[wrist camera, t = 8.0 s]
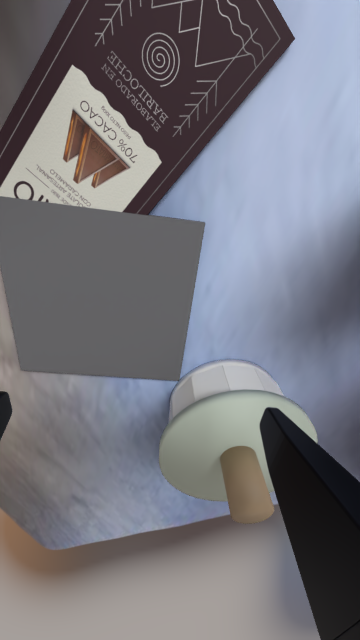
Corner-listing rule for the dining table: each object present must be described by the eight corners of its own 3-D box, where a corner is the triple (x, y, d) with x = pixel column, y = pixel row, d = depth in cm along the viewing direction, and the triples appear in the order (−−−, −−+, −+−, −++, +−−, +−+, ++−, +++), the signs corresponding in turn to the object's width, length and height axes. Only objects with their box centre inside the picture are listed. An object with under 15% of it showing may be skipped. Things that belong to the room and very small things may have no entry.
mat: (204, 222, 18) (205, 223, 18) (178, 376, 25) (179, 380, 24) (-9, 194, 17) (-14, 194, 16) (24, 365, 23) (21, 370, 23)
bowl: (291, 363, 25) (319, 403, 20) (260, 440, 30) (276, 485, 25) (176, 354, 23) (179, 394, 19) (164, 436, 28) (164, 482, 24)
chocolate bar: (295, 38, 14) (93, 278, 19) (287, 47, 14) (96, 274, 20) (169, -182, 10) (-29, 183, 16) (169, -154, 11) (-19, 183, 17)
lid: (336, 394, 20) (385, 455, 15) (283, 491, 26) (307, 555, 21) (167, 384, 18) (168, 447, 14) (153, 488, 24) (150, 555, 20)
